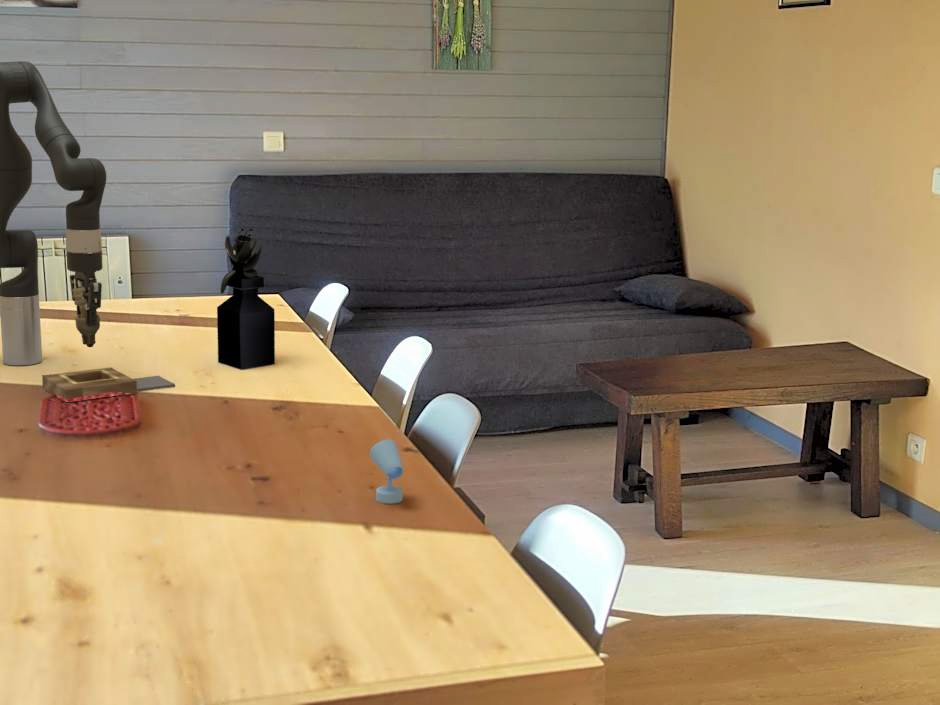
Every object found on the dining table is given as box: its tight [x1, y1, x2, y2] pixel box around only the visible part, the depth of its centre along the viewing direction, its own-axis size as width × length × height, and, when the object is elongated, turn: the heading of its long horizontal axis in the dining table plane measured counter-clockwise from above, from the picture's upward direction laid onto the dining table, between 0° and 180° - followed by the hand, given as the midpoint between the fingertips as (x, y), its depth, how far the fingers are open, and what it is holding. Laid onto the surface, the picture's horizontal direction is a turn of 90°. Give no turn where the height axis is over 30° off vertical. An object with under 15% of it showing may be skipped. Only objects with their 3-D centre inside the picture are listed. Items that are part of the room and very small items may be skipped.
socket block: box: [41, 367, 138, 399], centre depth 249 cm, size 16×16×3 cm
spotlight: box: [369, 439, 405, 505], centre depth 184 cm, size 5×10×7 cm
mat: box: [133, 375, 176, 393], centre depth 256 cm, size 10×10×1 cm
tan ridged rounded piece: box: [73, 287, 101, 348], centre depth 246 cm, size 6×6×15 cm
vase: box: [216, 228, 276, 371], centre depth 278 cm, size 14×12×35 cm
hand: (87, 323), depth 246 cm, fingers closed on tan ridged rounded piece, 5 cm apart
